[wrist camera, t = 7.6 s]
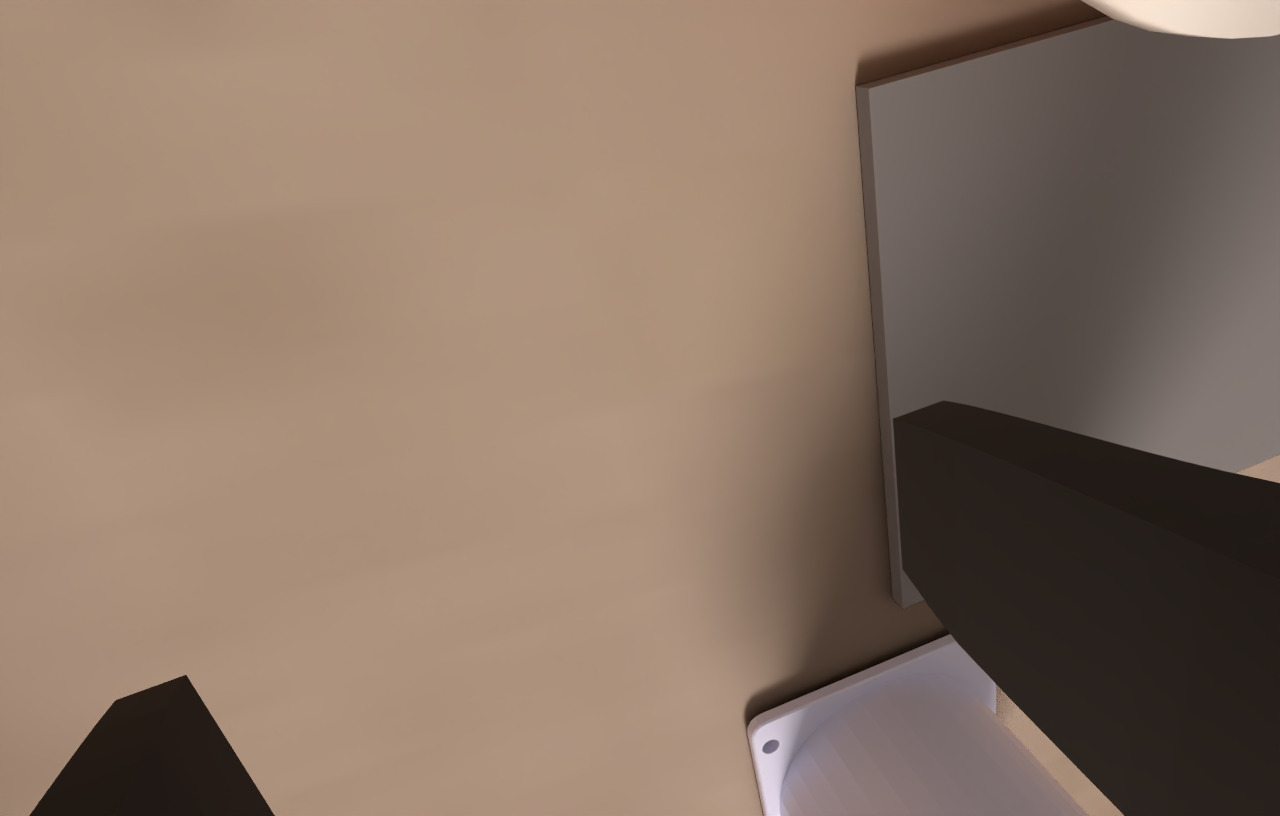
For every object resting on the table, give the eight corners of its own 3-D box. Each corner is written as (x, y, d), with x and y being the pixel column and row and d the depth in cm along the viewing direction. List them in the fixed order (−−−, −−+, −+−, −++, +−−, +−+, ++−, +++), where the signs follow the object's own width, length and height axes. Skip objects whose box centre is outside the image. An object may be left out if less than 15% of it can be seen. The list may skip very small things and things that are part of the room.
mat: (1287, 438, 27) (1302, 445, 27) (892, 598, 25) (902, 608, 24) (1384, -62, 20) (1407, -63, 20) (855, 86, 18) (868, 88, 17)
